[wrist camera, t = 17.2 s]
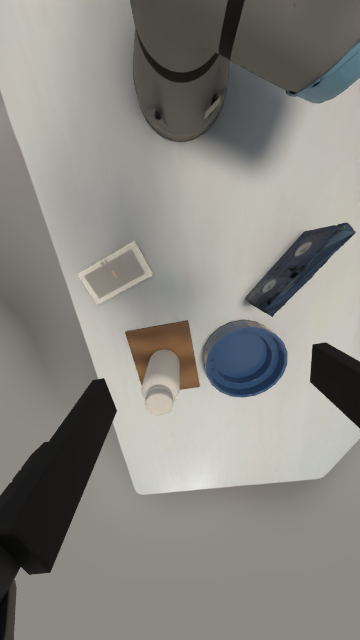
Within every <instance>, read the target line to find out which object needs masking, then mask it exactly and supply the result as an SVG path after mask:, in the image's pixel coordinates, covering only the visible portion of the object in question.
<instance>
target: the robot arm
mask: <svg viewBox="0 0 360 640" xmlns="http://www.w3.org/2000/svg"><path fill="white" fill-rule="evenodd" d="M130 2H131V8H132V13H133V18H134V23H135V39H134V54H133V77H134V84H135V89H136V93H137V97H138V100H139V104H140V107H141V109H142V112H143V114H144V116H145V117H146V119H147V121H148V122H149V123H150V125H151V126H152V127H153V128H154V129H155V130H156V131H157V132H158V133H159V134H161V135H162V136H164V137H166V138H168V139H171V140H175V141H187V140H191V139H194V138H196V137H198V136H200V135H201V134H203V133H204V132H205V131H206V130H207V129H208V128H209V127H210V126H211V125H212V123H213V122H214V120H215V119H216V117H217V115H218V113H219V111H220V109H221V106H222V103H223V100H224V96H225V93H226V89H227V84H228V77H229V60H230V61H232V62H234V63H235V64H237V65H239V66H241V67H243V68H245V69H247V70H248V71H250V72H252V73H254V74H256V75H258V76H260V77H261V78H263V79H265V80H267V81H269V82H271V83H273V84H274V85H276V86H278V87H280V88H282V89H284V90H285V91H286V94H287V95H289V96H292V97H294V96H298V97H301V98H303V99H305V100H307V101H310V102H312V103H322V102H324V101H327V100H330V99H332V98H334V97H336V96H337V95H339V94H340V93H342V92H343V91H344V90H346V89H347V88H348V87H349V86H351V85H352V84H353V83H354V82H355V81H356V80H357V79H358V78H360V0H130ZM310 382H311V383H312V384H313V385H314V386H315V387H316V388H317V389H318V390H319V391H320V392H321V393H323V394H324V395H325V396H326V397H327V398H328V399H329V400H330V401H331V402H332V403H333V404H334V405H335V406H336V407H338V408H339V409H340V410H341V411H342V412H343V413H344V414H345V415H346V416H347V417H348V418H349V419H350V420H351V421H353V422H354V423H355V424H356V425H357V426H358V427H359V428H360V362H359V361H358V360H356V359H354V358H352V357H351V356H349V355H347V354H345V353H343V352H342V351H340V350H338V349H336V348H335V347H333V346H331V345H329V344H328V343H320V344H313V347H312V361H311V375H310ZM116 412H117V410H116V407H115V405H114V402H113V400H112V397H111V394H110V392H109V389H108V387H107V384H106V382H105V379H104V378H103V379H97V380H93V381H92V382H91V383H90V385H89V386H88V388H87V389H86V390H85V392H84V393H83V395H82V396H81V398H80V399H79V400H78V402H77V403H76V404H75V406H74V407H73V409H72V410H71V412H70V413H69V414H68V416H67V417H66V418H65V420H64V421H63V423H62V424H61V425H60V427H59V428H58V429H57V431H56V432H55V434H54V435H53V437H52V438H51V439H50V441H49V442H44V443H43V444H42V445H41V446H40V447H39V448H38V449H37V450H36V451H35V452H34V453H32V455H31V456H30V457H29V459H28V460H27V461H26V462H25V464H24V465H23V466H22V469H21V470H20V471H19V472H18V473H17V474H16V476H15V477H14V478H13V481H12V482H11V483H10V484H9V485H8V486H7V488H6V489H5V490H4V492H3V493H2V494H1V495H0V640H14V624H15V606H16V605H15V604H16V583H15V580H14V578H15V576H16V575H17V573H18V571H19V569H20V567H22V568H23V569H24V570H25V571H26V572H27V573H28V574H29V575H31V574H41V573H50V572H51V570H52V567H53V565H54V562H55V560H56V557H57V555H58V553H59V550H60V548H61V545H62V543H63V540H64V538H65V536H66V533H67V531H68V528H69V526H70V523H71V521H72V518H73V516H74V514H75V511H76V509H77V506H78V504H79V502H80V499H81V497H82V494H83V492H84V489H85V487H86V485H87V482H88V480H89V477H90V475H91V472H92V470H93V468H94V465H95V463H96V460H97V458H98V456H99V453H100V451H101V448H102V446H103V443H104V441H105V439H106V436H107V434H108V431H109V429H110V426H111V424H112V422H113V419H114V417H115V414H116Z"/></svg>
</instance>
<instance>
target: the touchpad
mask: <svg viewBox="0 0 360 640" xmlns="http://www.w3.org/2000/svg"><path fill="white" fill-rule="evenodd" d="M77 275H78V276H79V278H80V279H81V281H82V282H83V284H84V285H85V287H86V288H87V290H88V291H89V293H90V294H91V296H92V297H93V298H94V300H95V301H96V303H97V304H98V305H99V304H100V303H102V302H104V301H106V300H108V299H110V298H111V297H113V296H115V295H117V294H119V293H121V292H123V291H124V290H126V289H128V288H130V287H132V286H134V285H136V284H137V283H139V282H141V281H143V280H145V279H147V278H149V277H150V276H152V275H153V273H152V271H151V270H150V268H149V266H148V264H147V262H146V260H145V259H144V257H143V255H142V253H141V251H140V249H139V248H138V246H137V244H136V242H135V241H133V242H131V243H130V244H128V245H126V246H124V247H123V248H121V249H119V250H118V251H116V252H114V253H112V254H111V255H109V256H107V257H106V258H104V259H102V260H100V261H99V262H97V263H95V264H94V265H92V266H90V267H88V268H87V269H85V270H83V271H82V272H80V273H78V274H77Z"/></svg>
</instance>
